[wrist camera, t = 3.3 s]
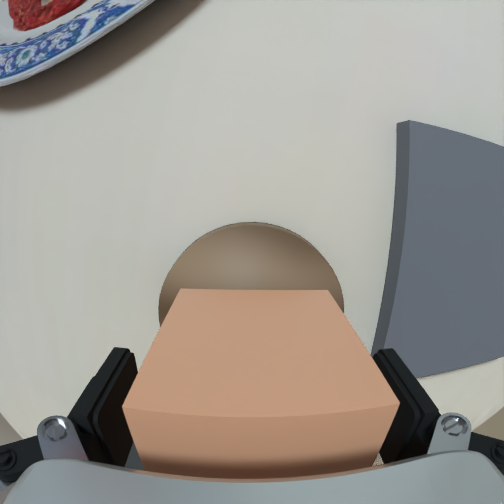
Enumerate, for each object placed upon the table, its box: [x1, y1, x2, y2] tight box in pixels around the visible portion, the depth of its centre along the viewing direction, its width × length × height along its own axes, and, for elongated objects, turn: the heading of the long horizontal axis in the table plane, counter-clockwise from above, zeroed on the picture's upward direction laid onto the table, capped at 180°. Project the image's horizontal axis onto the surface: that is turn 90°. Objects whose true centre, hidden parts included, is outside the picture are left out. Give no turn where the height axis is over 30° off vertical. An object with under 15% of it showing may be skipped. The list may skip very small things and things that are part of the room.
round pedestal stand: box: [158, 222, 344, 327], centre depth 12 cm, size 10×10×10 cm
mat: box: [371, 120, 504, 378], centre depth 16 cm, size 16×14×2 cm
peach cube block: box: [122, 288, 400, 479], centre depth 10 cm, size 6×6×7 cm
